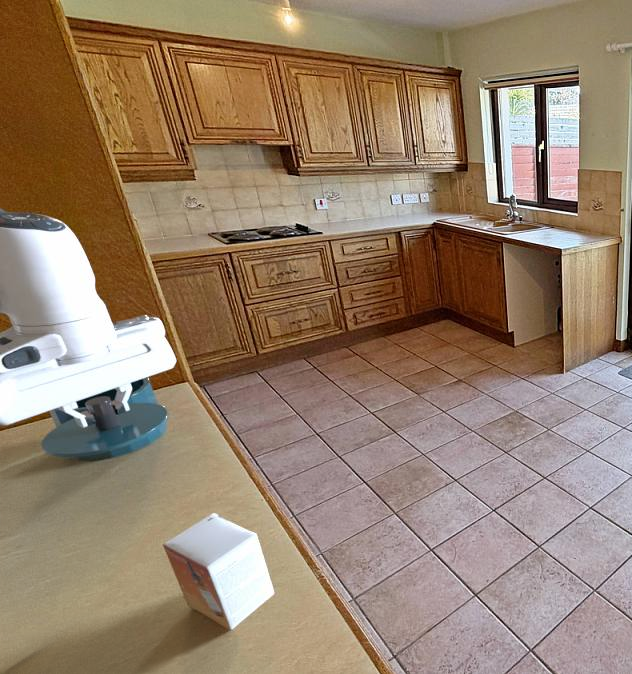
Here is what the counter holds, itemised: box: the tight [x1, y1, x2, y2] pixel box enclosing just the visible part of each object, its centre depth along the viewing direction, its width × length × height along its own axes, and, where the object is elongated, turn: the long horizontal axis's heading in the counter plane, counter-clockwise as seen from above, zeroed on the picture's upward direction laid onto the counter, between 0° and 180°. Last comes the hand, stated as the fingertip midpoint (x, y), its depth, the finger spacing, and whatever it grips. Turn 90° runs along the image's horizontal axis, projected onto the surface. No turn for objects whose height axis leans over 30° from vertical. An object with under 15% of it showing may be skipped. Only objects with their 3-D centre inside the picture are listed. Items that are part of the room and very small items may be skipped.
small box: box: [162, 512, 275, 631], centre depth 57 cm, size 8×6×10 cm
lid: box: [40, 396, 169, 459], centre depth 71 cm, size 14×14×6 cm
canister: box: [48, 377, 168, 462], centre depth 84 cm, size 13×13×10 cm
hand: (104, 418), depth 71 cm, fingers closed on lid, 2 cm apart
